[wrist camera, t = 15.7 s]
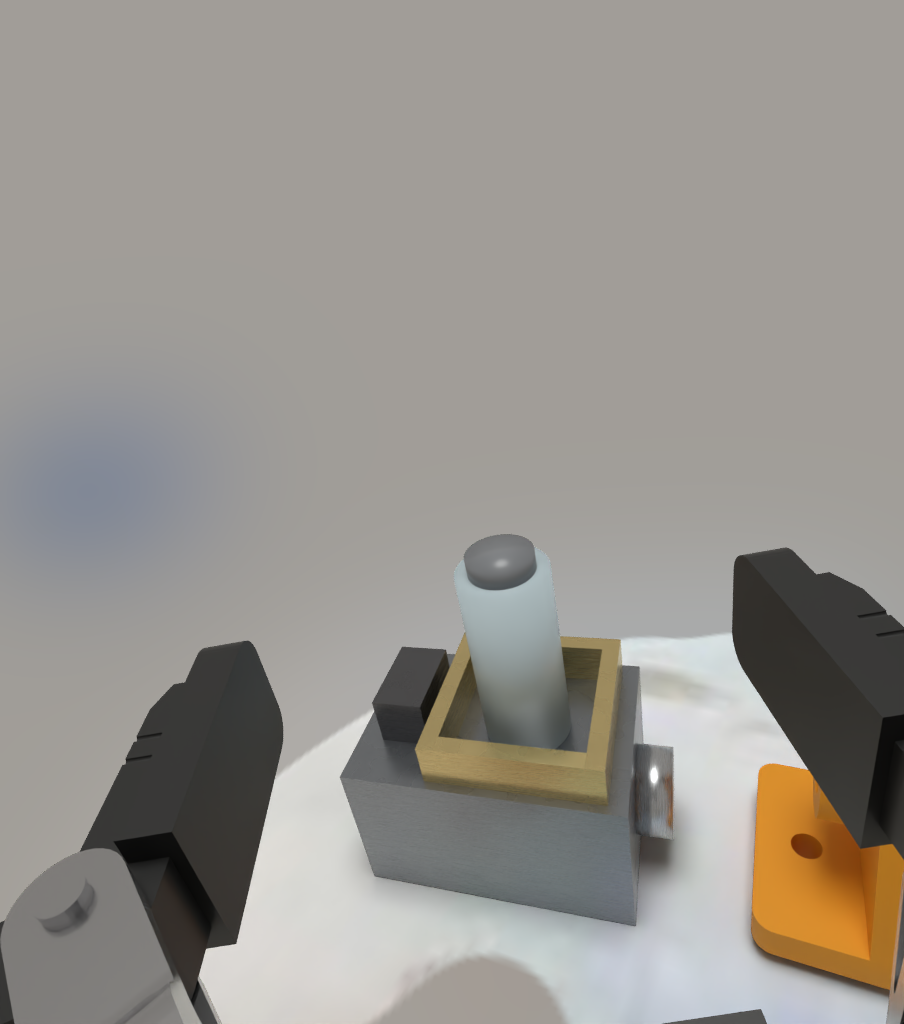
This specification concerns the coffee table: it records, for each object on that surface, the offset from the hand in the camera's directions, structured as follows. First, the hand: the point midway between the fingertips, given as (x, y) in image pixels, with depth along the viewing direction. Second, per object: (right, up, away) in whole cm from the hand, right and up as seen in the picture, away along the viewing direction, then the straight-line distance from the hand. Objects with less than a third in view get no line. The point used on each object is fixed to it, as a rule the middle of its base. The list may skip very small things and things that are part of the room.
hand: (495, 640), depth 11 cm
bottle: (+4, -10, +28) cm, 30 cm away
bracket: (+20, -19, +26) cm, 38 cm away
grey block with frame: (+3, -18, +33) cm, 38 cm away
